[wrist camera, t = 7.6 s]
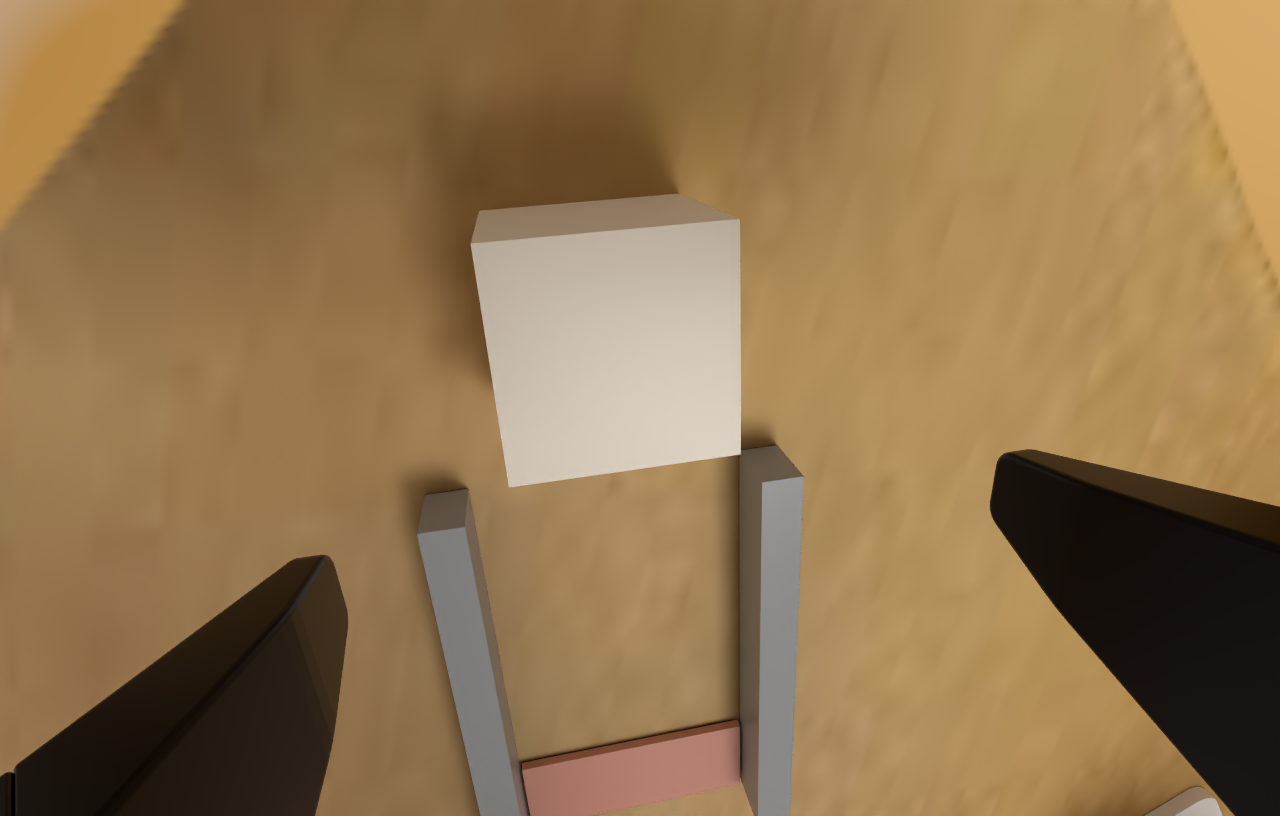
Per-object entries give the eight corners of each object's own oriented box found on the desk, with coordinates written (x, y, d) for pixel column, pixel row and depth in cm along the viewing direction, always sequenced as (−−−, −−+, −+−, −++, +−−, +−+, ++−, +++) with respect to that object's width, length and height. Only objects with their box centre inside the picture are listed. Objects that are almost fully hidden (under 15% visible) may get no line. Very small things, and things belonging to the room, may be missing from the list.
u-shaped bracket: (770, 770, 26) (789, 818, 24) (496, 828, 25) (496, 884, 23) (777, 445, 21) (803, 476, 19) (424, 494, 19) (416, 534, 17)
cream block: (685, 376, 19) (741, 454, 15) (507, 398, 19) (508, 487, 14) (678, 193, 17) (740, 218, 13) (479, 210, 17) (470, 243, 12)
